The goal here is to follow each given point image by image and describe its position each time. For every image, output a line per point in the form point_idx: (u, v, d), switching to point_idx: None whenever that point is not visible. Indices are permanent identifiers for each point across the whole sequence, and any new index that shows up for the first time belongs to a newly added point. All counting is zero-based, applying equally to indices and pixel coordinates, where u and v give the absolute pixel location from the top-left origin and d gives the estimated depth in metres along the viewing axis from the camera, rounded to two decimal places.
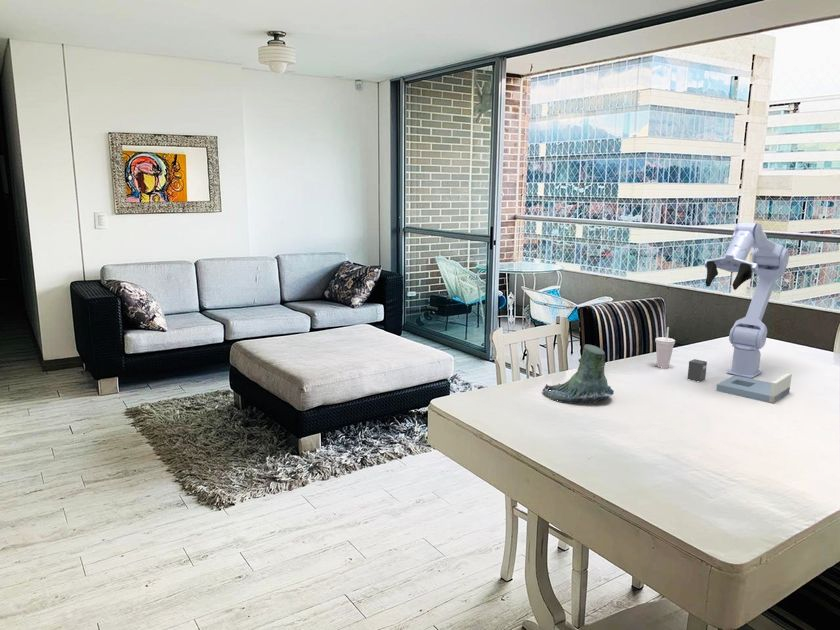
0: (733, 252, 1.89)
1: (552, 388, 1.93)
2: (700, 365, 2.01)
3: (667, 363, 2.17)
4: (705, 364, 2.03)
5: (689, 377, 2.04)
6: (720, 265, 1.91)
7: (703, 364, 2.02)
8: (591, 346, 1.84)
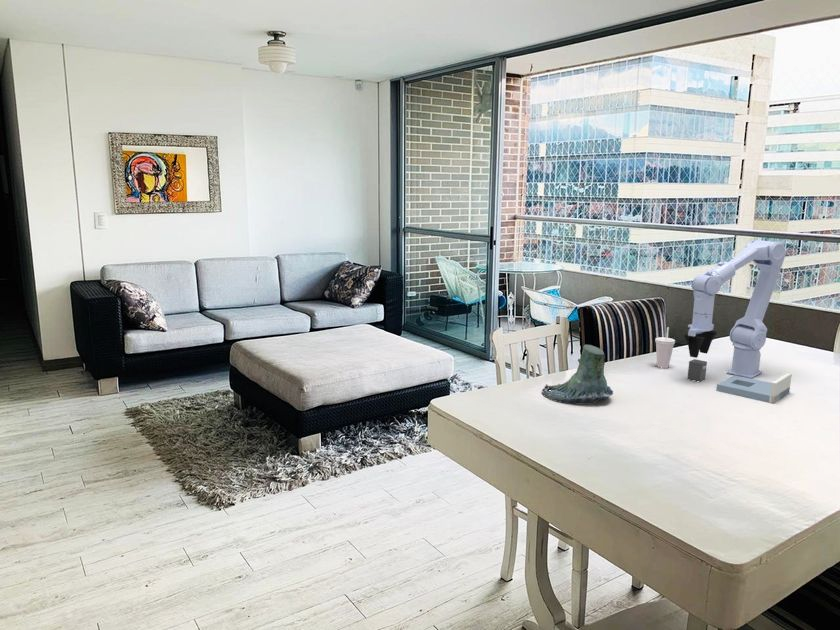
0: None
1: (552, 388, 1.93)
2: (700, 365, 2.01)
3: (667, 363, 2.17)
4: (705, 364, 2.03)
5: (689, 377, 2.04)
6: None
7: (703, 364, 2.02)
8: (591, 346, 1.84)
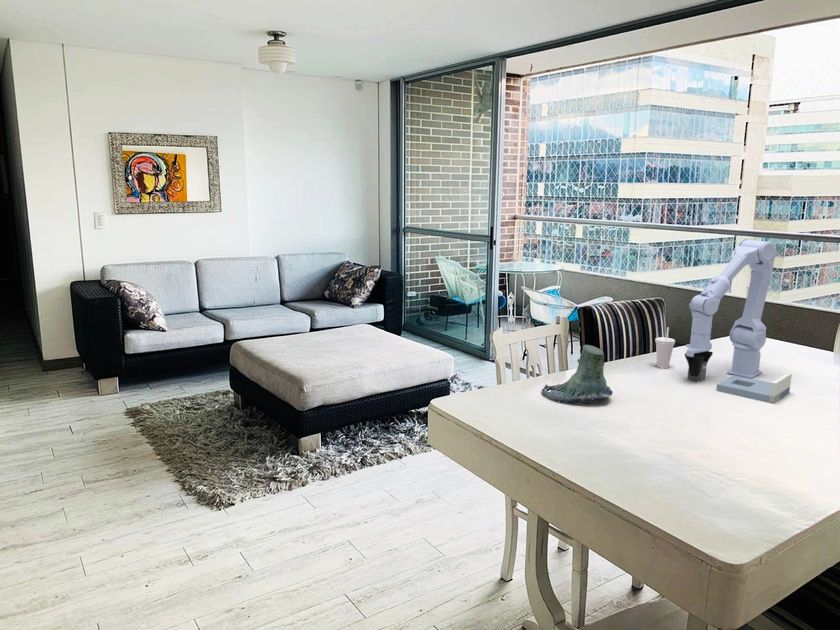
0: None
1: (552, 388, 1.93)
2: None
3: (667, 363, 2.17)
4: (705, 364, 2.03)
5: (689, 377, 2.04)
6: None
7: (703, 364, 2.02)
8: (590, 346, 1.84)
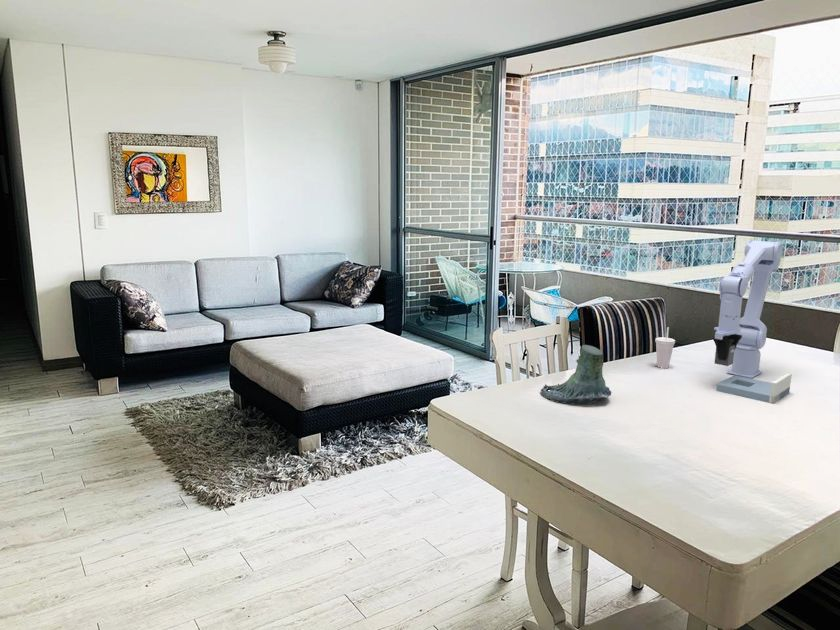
0: None
1: (551, 388, 1.93)
2: None
3: (667, 363, 2.17)
4: (733, 347, 1.96)
5: (716, 361, 1.98)
6: None
7: (731, 347, 1.95)
8: (589, 347, 1.84)
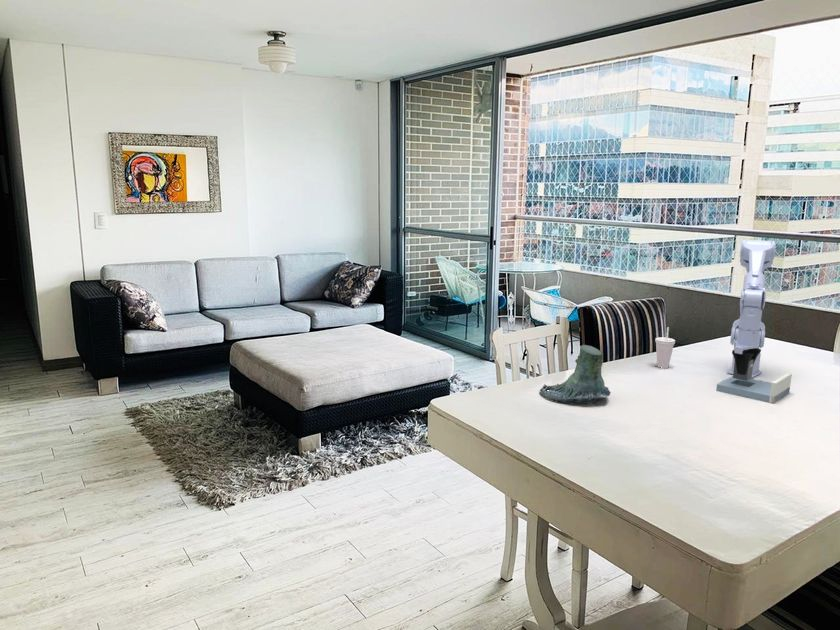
0: None
1: (550, 388, 1.93)
2: None
3: (667, 363, 2.17)
4: (752, 362, 1.93)
5: (735, 375, 1.94)
6: None
7: (750, 362, 1.92)
8: (588, 347, 1.84)
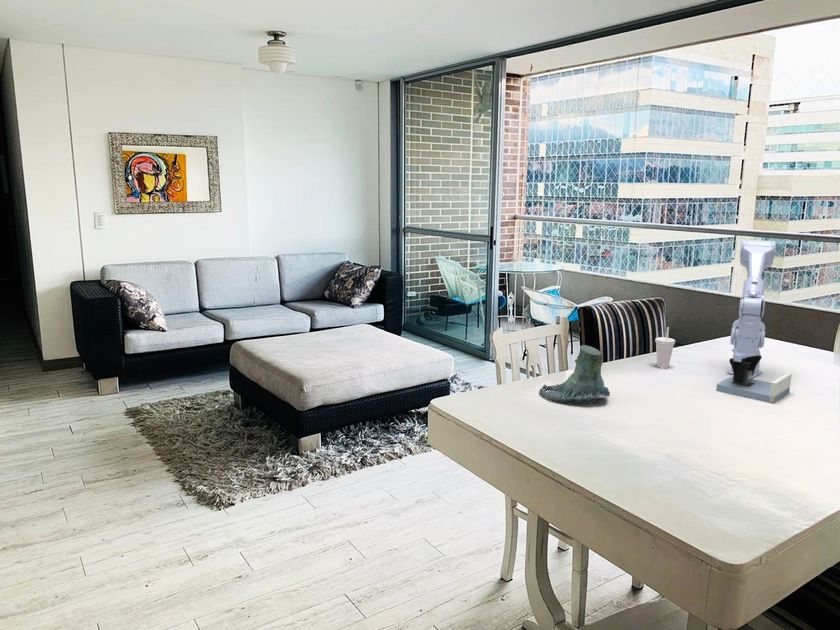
0: None
1: (550, 388, 1.93)
2: (746, 374, 1.92)
3: (667, 363, 2.17)
4: (751, 373, 1.94)
5: None
6: None
7: (749, 373, 1.92)
8: (588, 347, 1.84)
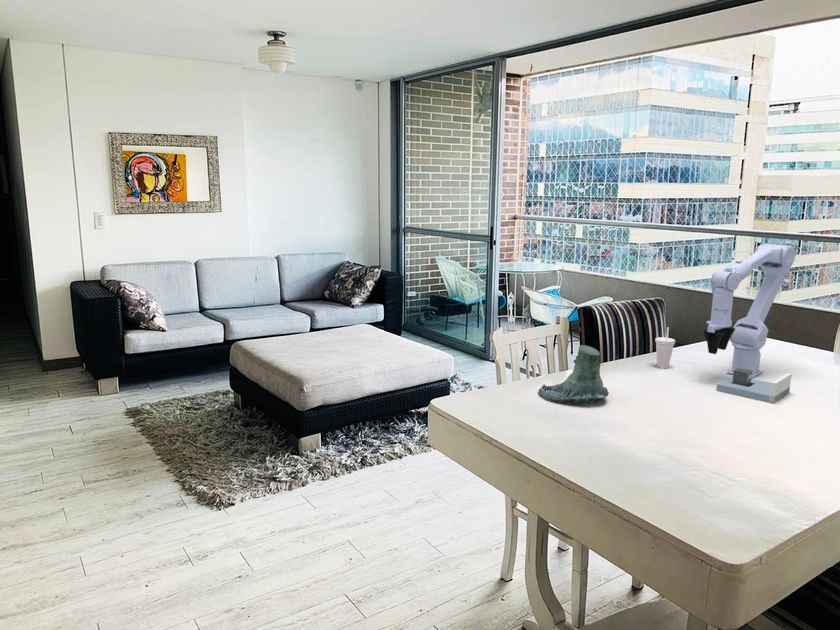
0: None
1: (549, 388, 1.93)
2: (746, 374, 1.92)
3: (667, 363, 2.17)
4: (751, 373, 1.94)
5: None
6: None
7: (749, 373, 1.92)
8: (587, 347, 1.83)
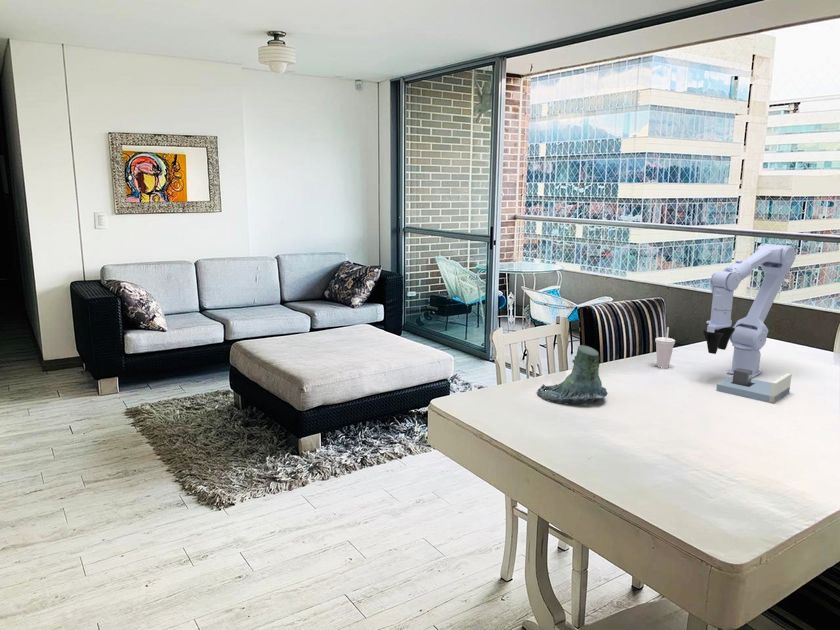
0: None
1: (548, 388, 1.93)
2: (746, 374, 1.92)
3: (667, 363, 2.17)
4: (751, 373, 1.94)
5: None
6: None
7: (749, 373, 1.92)
8: (586, 347, 1.83)
